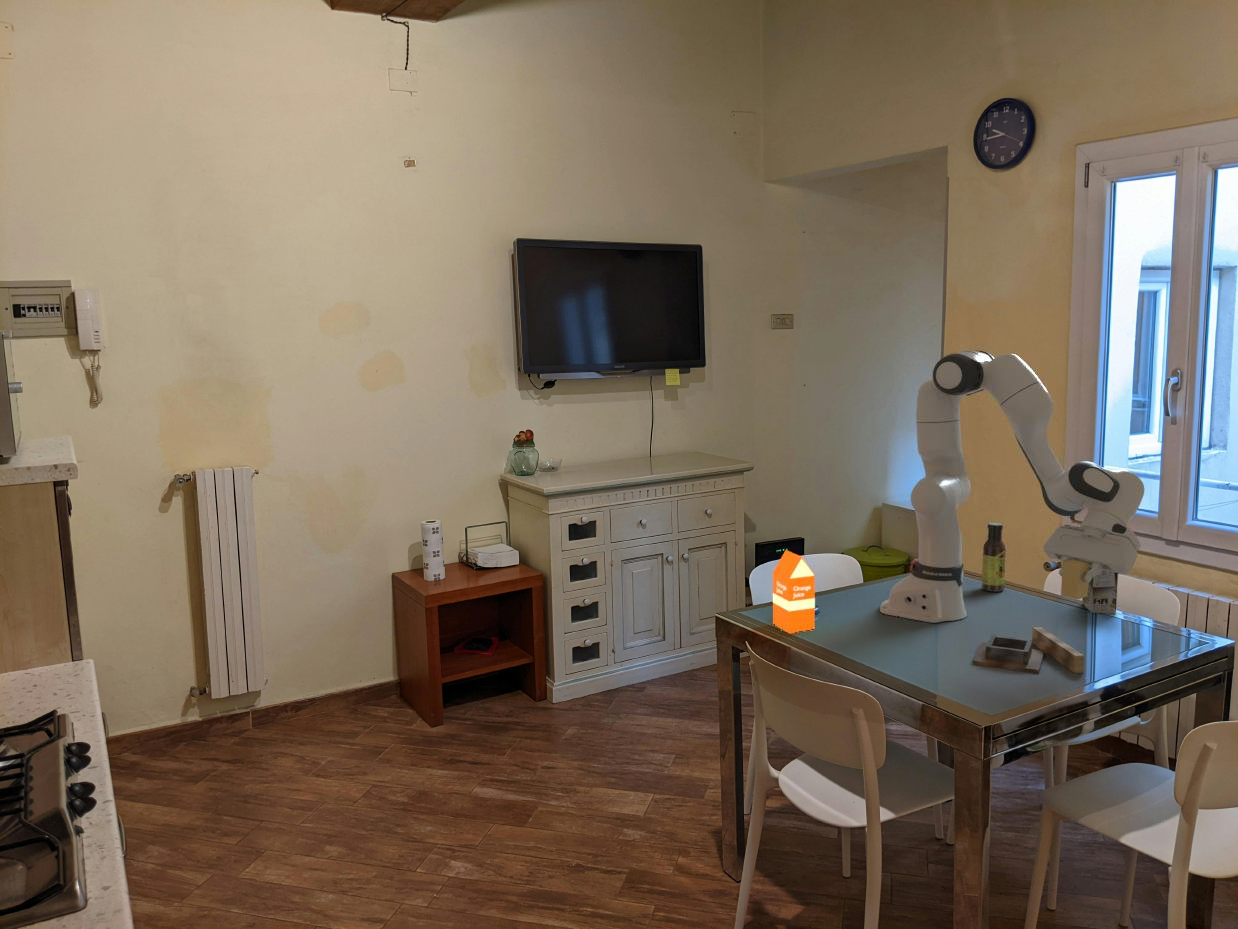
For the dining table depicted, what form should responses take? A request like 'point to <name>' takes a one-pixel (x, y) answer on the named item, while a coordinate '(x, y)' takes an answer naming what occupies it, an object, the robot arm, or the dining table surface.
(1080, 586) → the stop block
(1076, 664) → the strip
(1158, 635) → the dining table surface
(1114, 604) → the coffee box
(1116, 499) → the robot arm
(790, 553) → the orange juice
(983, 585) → the sauce bottle
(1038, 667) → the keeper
